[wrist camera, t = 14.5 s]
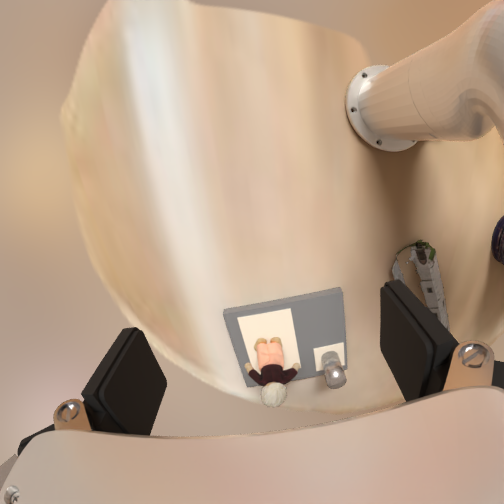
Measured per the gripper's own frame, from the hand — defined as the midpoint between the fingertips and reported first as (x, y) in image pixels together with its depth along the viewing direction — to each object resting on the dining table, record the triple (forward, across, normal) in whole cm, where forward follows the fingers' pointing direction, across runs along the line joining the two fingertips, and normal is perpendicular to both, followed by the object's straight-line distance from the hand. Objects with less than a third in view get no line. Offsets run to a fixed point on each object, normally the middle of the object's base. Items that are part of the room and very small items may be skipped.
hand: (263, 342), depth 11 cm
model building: (+31, -24, +22) cm, 45 cm away
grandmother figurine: (+29, +3, +22) cm, 36 cm away
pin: (+28, -6, +27) cm, 40 cm away
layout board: (+30, 0, +23) cm, 38 cm away
